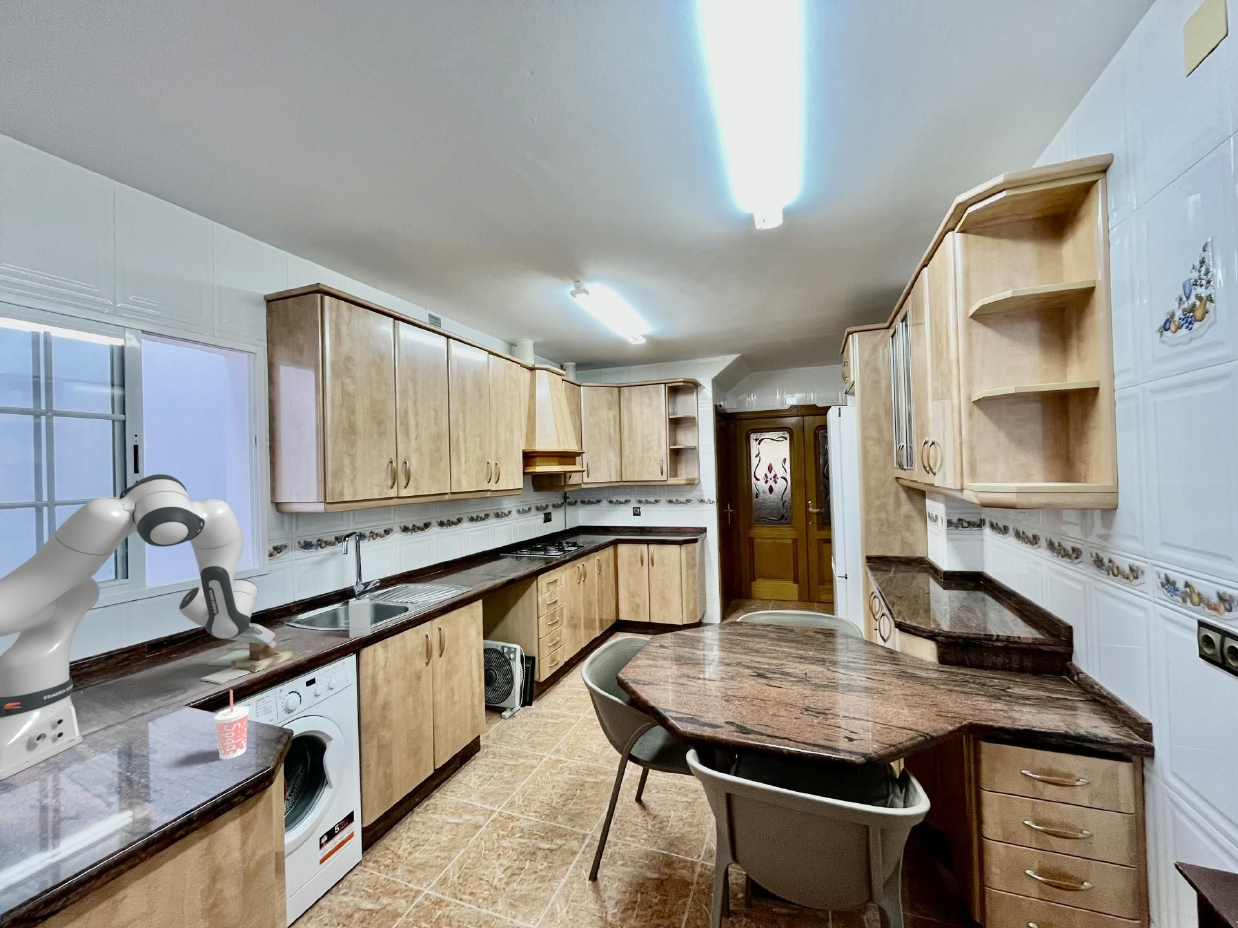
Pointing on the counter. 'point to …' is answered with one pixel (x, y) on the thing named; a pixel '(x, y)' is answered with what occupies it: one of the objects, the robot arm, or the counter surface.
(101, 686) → the counter surface
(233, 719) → the beverage cup
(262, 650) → the walnut block
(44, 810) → the counter surface
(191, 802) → the counter surface
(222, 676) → the puzzle board
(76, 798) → the counter surface
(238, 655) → the coaster
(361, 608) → the supplement box
